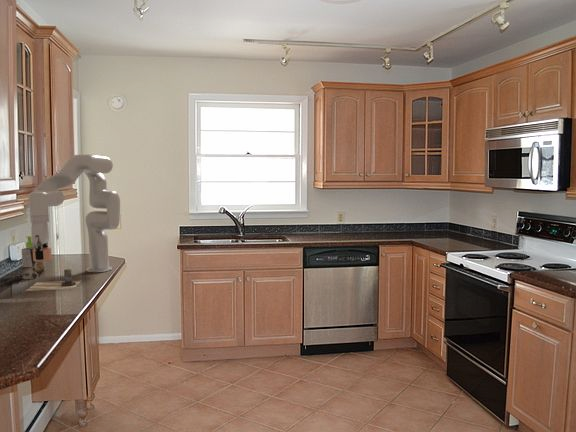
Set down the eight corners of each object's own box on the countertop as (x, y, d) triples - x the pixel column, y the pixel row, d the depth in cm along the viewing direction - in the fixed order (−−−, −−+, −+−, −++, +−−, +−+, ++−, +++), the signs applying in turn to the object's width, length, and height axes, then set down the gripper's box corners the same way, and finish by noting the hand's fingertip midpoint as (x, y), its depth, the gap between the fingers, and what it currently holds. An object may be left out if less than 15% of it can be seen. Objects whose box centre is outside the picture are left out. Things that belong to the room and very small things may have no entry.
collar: (36, 258, 243) (36, 247, 242) (52, 257, 244) (52, 247, 243) (31, 261, 236) (31, 250, 235) (48, 261, 237) (47, 250, 236)
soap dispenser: (30, 276, 266) (28, 237, 264) (22, 275, 269) (20, 236, 267) (41, 274, 271) (39, 235, 268) (33, 272, 274) (31, 234, 272)
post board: (37, 285, 248) (36, 267, 247) (81, 283, 251) (81, 266, 250) (25, 293, 232) (24, 274, 231) (73, 292, 235) (72, 273, 234)
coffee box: (34, 282, 254) (32, 249, 252) (22, 281, 255) (20, 248, 253) (46, 278, 263) (44, 246, 261) (35, 277, 264) (33, 245, 262)
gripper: (37, 216, 245) (39, 254, 248) (24, 222, 228) (27, 262, 230) (54, 216, 246) (56, 253, 249) (42, 221, 229) (45, 261, 232)
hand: (42, 257), depth 240 cm, fingers closed on collar, 7 cm apart
